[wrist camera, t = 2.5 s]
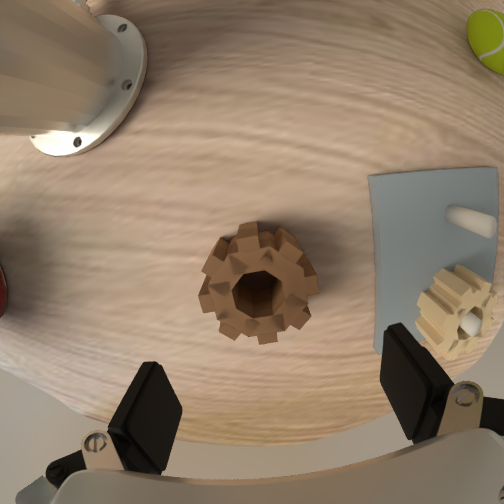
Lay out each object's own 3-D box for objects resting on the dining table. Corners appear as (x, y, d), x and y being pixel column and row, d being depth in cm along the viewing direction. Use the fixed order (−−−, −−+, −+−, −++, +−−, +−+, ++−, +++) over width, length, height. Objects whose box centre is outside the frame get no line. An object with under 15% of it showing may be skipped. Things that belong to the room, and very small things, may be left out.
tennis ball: (461, 66, 14) (511, 51, 8) (446, 11, 12) (485, -12, 5) (502, 89, 14) (547, 83, 7) (489, 36, 12) (528, 23, 5)
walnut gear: (198, 232, 19) (185, 249, 15) (299, 213, 19) (310, 225, 15) (221, 320, 21) (215, 350, 17) (311, 304, 21) (322, 333, 17)
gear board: (367, 175, 18) (411, 180, 12) (488, 166, 17) (533, 172, 11) (373, 347, 22) (398, 391, 16) (479, 308, 21) (512, 335, 15)
